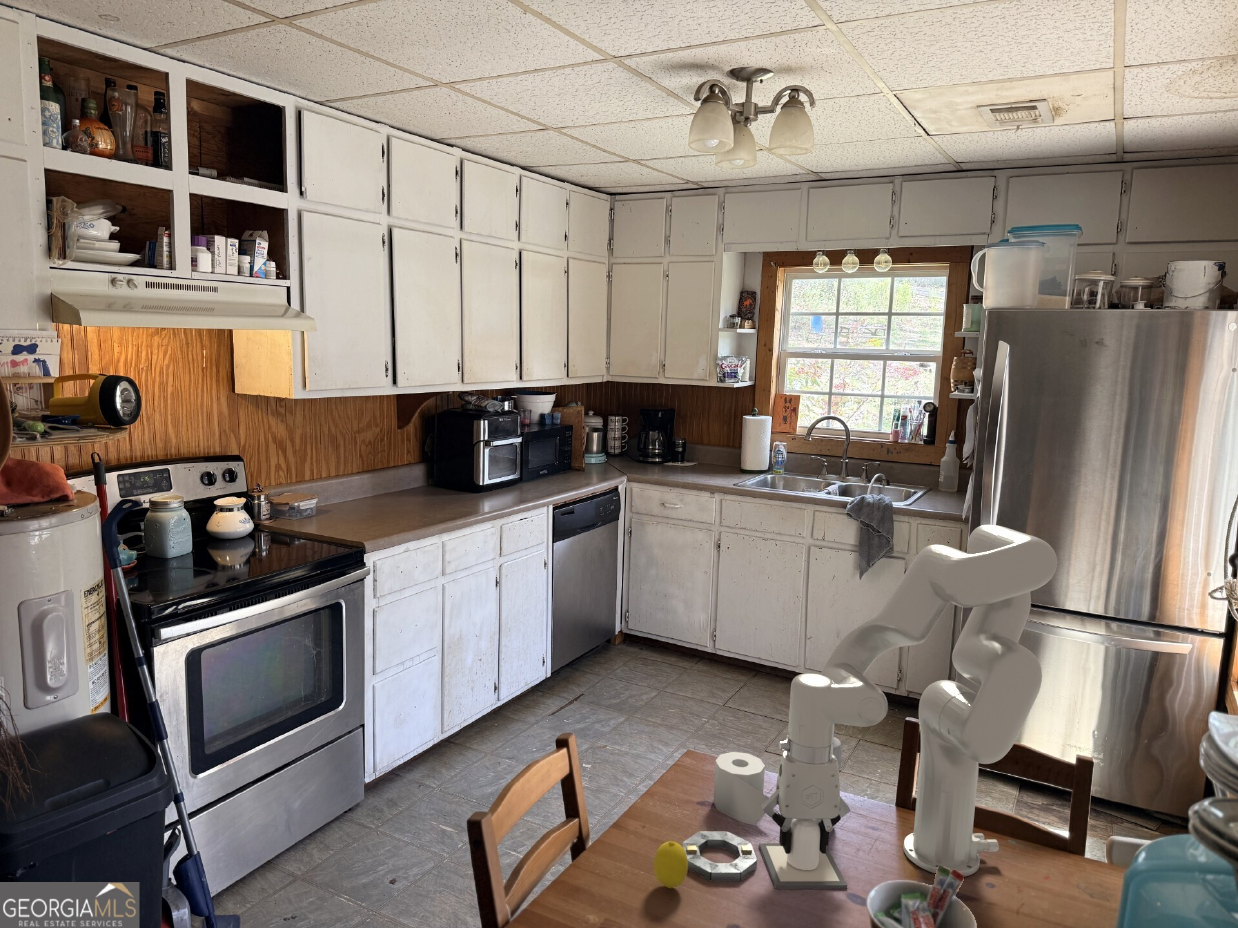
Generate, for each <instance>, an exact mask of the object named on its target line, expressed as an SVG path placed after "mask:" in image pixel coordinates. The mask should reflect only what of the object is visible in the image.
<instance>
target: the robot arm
mask: <svg viewBox="0 0 1238 928" xmlns="http://www.w3.org/2000/svg"><path fill="white" fill-rule="evenodd" d="M1057 567H1058V557H1057V554H1056V552H1055V549H1054V548H1053V547H1052V546H1051V545H1050V544H1049V543H1048V542H1047V541H1045V540H1043V539H1041V538H1039V537H1037V536H1034V535H1030V534H1027V533H1024V532H1021V531H1018V530H1015V529H1011V528H1009V527H1006V526H1001V525H996V524H983V525H979V526H978V527H976V528H974V530H973V531H972V532H971V533H970V535H969V538H968V540H967V552H966V551H962V550H960V549H957V548H954V547H951V546H948V545H943V544H930V545H927V546H925V547H923V548H922V550H920V551H919V552H918V553H917V555H916V557H915V558H914V560H913V561H912V562H911V564H910V565H909V567H908V569H906V571H905V573H904V574H903V576H902V578H900V580H899V582H898V584H897V585H896V586H895V588H894V590H892V593H891V594H890V596H888V599H887V600H886V602H885V603H884V605H883V606H882V607H881V609H880V610H879V611H878V612H877V614H875V615H874V616H871V617H870V618H869V619H867V620H865V621H864V622H862V623H861V624H859V625H858V626H857V627H855V628H854V629H852V630H851V631H850V632H848V633H847V634H846V635H845V636H844V637H843V638H842V639H841V640H840V642H839V643H838V644H837V645H836V647H835V649H834V650H833V651H832V653H831V654H830V656H829V658H828V659H827V661H826V662H825V664H824V666H823V668H822V670H821V672H820V674H818V673H801V674H797V675H796V676H795V677H794V678H793V679H792V681H791V685H790V695H789V697H790V698H789V713H788V726H787V727H788V728H787V735H786V739H785V740H783V741H779V742H778V749H779V750H780V751H782V750H783V752H782V756H781V759H780V763H779V767H778V772H777V779H776V784H775V785H776V787H775V791H774V792H773V793H772V794H771V795H770V797H769V796H768V797H769V798H768V799H767V801H766V802H765V803H764V804H763V805H762V808H763V811H764V812H765V815H767V816H768V817H769V818H771V819H772V820H773V822H774V823H775V824H776V825H778V827H779V835H778V836H779V837H778V839H779V843H780V845H781V846H783V848H784V850H785V853H786V854H789V853H790V852H791V836H792V833H791V830H790V825H791V823H792V820H793V819H821V821H820V822H819V823H818V826H819V827H820V852H821V853H822V854H826V846H827V847H829V844H830V834H831V832H832V831H833V828H834V826H836V824H838V823H839V822H840V821H841V818H843V817H845V816H846V815H847V814H849V813H850V812H851V808H850V807H849V804H848V803H847V802H846V801H845V800H844V798H842V796H841V788H840V785H841V783H840V769H838V762H837V759H836V758H835V757H834V755H833V741H834V737H835V734H834V729H835V724H838V725H846V726H850V727H851V726H854V727H859V728H860V727H861V728H862V727H863V728H865V727H866V728H867V727H872V726H874V725H875V726H876V725H878V724H879V723H880V722H882V721H883V719H884V718H885V717H886V716H887V714H888V711H889V705H888V704H889V703H888V700H887V697H886V695H885V693H884V692H883V691H882V689H881V688H880V687H879V686H878V685H877V684H875V683H874V682H872V681H871V680H870V679H869V678H868V677H866V676H865V675H866V673H867V671H868V670H869V668H870V667H871V666H872V665H873V663H874V661H876V659H878V657H880V656H881V655H882V654H884V653H886V652H888V651H890V650H893V649H895V648H901V647H908V646H916V645H920V644H922V643H924V642H925V641H927V639H928V637H929V635H930V634H931V633H932V631H933V629H934V628H935V626H936V625H937V623H938V622H939V620H940V618H941V617H942V616H943V614H944V612H945V611H946V610H947V608H948V607H949V605H950V604H953V605H954V606H958V607H960V608H972V610H971V612H970V614H969V616H968V618H967V620H966V622H965V624H964V626H963V628H962V630H961V633H960V635H959V637H958V638H957V641H956V643H955V646H954V648H953V650H952V654H951V662H952V664H953V667H954V668H955V670H956V671H957V672H958V673H959V674H960V675H962V677H963V678H965V679H967V680H968V681H970V682H971V683H973V684H974V685H976V686H978V687H979V690H978V692H977V693H976V692H975V691H973V690H972V689H970V688H969V687H967V686H965V685H963V684H962V683H959V682H957V681H953V680H949V679H944V680H943V679H941V680H937V681H934V682H933V683H930V684H929V685H928V686H927V687H926V688H925V689H924V691H923V692H922V694H921V697H920V699H919V704H918V721H919V730H920V754H919V755H920V756H919V768H918V777H917V778H918V779H917V791H916V802H915V815H914V828H913V832H912V833H910V834H908V835H907V836H905V838H904V840H903V852H904V853H905V854H904V855H906V857H907V858H908V859H909V861H911V862H912V863H914V864H915V865H916V866H918V867H919V868H921V869H923V870H926V871H927V872H930V873H931V874H935V872H936V870H937V867H938V866H945V867H947V868H950V870H957V871H958V872H961V873H962V874H963V875H965V876H964V877H967V876H969V877H970V876H971V875H973V874H975V873H976V872H977V871H978V870H979V868H980V863H981V862H980V856H979V854H981V853H982V852H984V851H985V852H998V851H999V850H1000V846H999V842H998V840H997V839H985V835H984V834H983V833H982V832H981V833H980V832H977V833H976V832H975V833H973V832H974V831H973V830H974V820H975V808H976V799H977V798H976V797H977V788H978V780H979V764H983V765H989V764H994V763H996V762H998V761H1000V760H1002V759H1003V758H1004V757H1005V756H1006V755H1008V752H1010V750H1011V748H1012V747H1014V744H1015V742H1016V740H1017V738H1018V736H1019V734H1020V732H1021V731H1022V728H1023V726H1024V725H1025V722H1026V721H1027V718H1028V716H1029V713H1030V712H1031V710H1032V708H1033V706H1034V705H1035V702H1036V699H1037V698H1038V695H1039V693H1040V690H1041V688H1042V679H1043V672H1042V671H1043V670H1042V667H1041V663H1040V660H1039V659H1038V658H1037V656H1036V655H1035V654H1034V653H1033V652H1032V651H1031V650H1030V649H1029V648H1026V646H1023V645H1021V644H1020V643H1019V641H1020V638H1021V636H1022V633H1023V631H1024V629H1025V625H1026V623H1027V622H1028V618H1029V615H1030V612H1031V607H1032V605H1031V604H1032V599H1031V592H1032V591H1036V590H1038V589H1040V588H1041V587H1043V586H1045V585H1046V584H1047V583H1049V582H1050V581H1051V580H1052V579H1053V577H1054V575H1055V573H1056V571H1057V570H1058V568H1057ZM777 805H778V810H779V812H780V813H779V812H778V811H777V810H776V809H775V807H776V806H777Z"/></svg>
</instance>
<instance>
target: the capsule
mask: <svg viewBox="0 0 1238 928" xmlns="http://www.w3.org/2000/svg"><path fill="white" fill-rule="evenodd" d="M790 830H791V833H792V836H791V852H790V853H789V854H787V860H788V862H789V864H791V865H792V866H793V867H795V868H797V869H801V870H812V869H815V868H816V867H818V864H819V850H820V827H819V826H818V824H817V822H816V821H815V820H814V819H793V820H792V823H791V825H790Z"/></svg>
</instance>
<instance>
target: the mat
mask: <svg viewBox="0 0 1238 928" xmlns="http://www.w3.org/2000/svg"><path fill="white" fill-rule="evenodd" d="M758 848H759V849H760V853H761V855H762V858H763V860H764V863H765V865H766V868H767V870H768V872H769V875H770V878H771V881H772V882H773V883H772V884H773V886H774V888H775V889H776V890H778V889H780V890H781V889H783V890H785V889H786V890H788V889H789V890H790V889H794V890H796V889H797V890H800V889H801V890H802V889H803V890H804V889H805V890H809V889H812V890H814V889H817V890H819V889H821V890H822V889H823V890H824V889H826V890H828V889H829V890H830V889H833V890H835V889H840V890H842V889H845V890H846V889H848V884H847V882H846V880H845V878H844V876H843V874H842V872H841V871H840V868H839V867H838V865H837V863H836V861H835V859H834V857H833V856H832V853H831V851H830V850H829V848H828V846H826V854H822V853H821V852H820V850H819V864H818V867H816V868H815V869H812V870H801V869H797V868H795V867H793V866H792V865H791V864H789V862H788V860H787V854H786V853H785V850H784V848H783V846H781V845H780V842H779V843H778V842H777V843H774V842H773V843H771V842H770V843H767V842H766V843H763V842H759V843H758Z"/></svg>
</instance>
